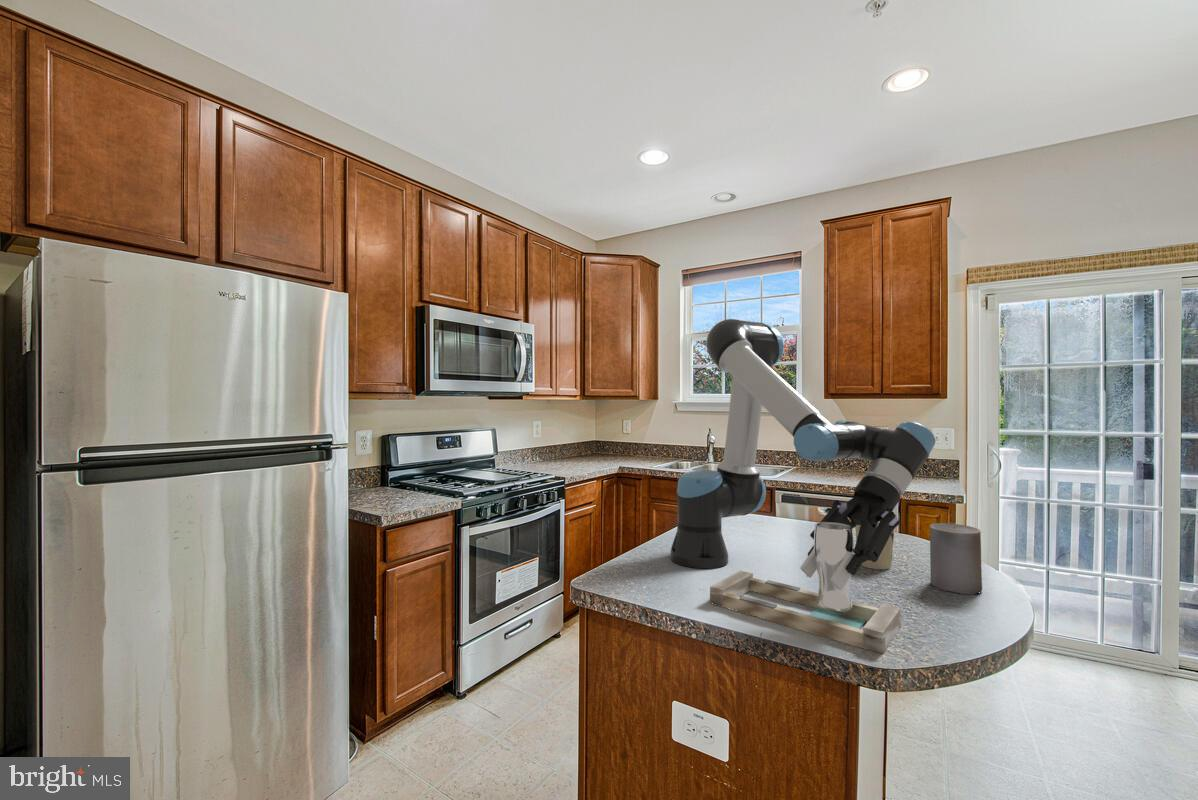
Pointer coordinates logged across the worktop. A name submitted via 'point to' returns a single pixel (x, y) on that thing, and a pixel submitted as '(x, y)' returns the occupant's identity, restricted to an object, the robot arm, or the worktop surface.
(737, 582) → the wooden serving tray
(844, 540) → the beer glass
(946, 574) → the dark gray cylinder
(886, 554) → the coffee cup
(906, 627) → the worktop surface
